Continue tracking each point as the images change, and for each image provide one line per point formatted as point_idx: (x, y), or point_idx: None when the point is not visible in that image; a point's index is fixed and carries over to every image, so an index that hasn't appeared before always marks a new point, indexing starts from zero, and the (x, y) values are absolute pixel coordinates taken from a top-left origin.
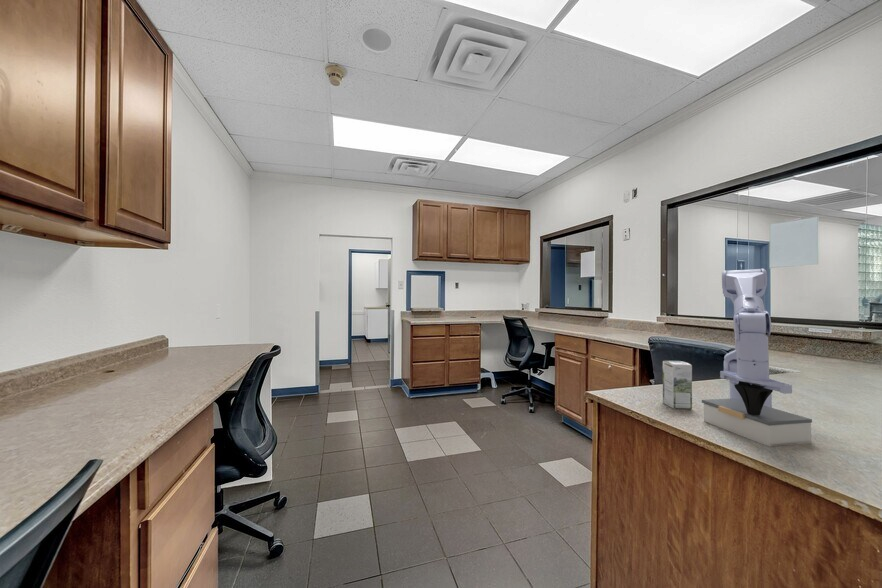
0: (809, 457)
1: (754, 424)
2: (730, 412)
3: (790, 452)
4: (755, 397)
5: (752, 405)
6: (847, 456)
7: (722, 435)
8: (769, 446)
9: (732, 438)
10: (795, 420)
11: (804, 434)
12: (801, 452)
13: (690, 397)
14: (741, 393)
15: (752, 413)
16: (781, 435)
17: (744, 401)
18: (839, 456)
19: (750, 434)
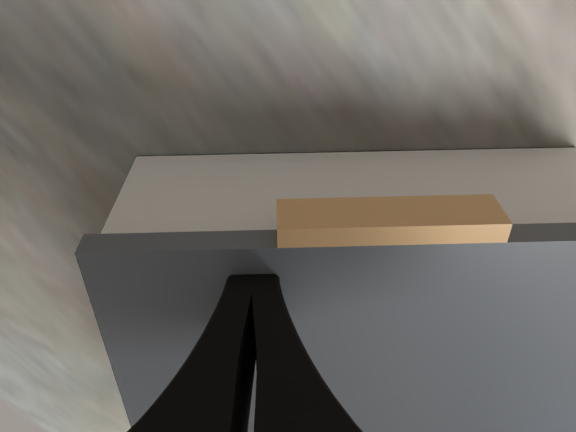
0: (10, 223)
1: (211, 217)
2: (384, 210)
3: (66, 193)
4: (141, 419)
5: (206, 333)
6: (48, 371)
7: (340, 23)
8: (139, 157)
9: (280, 46)
10: (130, 422)
11: None
12: (72, 245)
13: None
14: (306, 413)
15: (231, 282)
16: None
17: (285, 344)
18: (44, 346)
19: (248, 169)
